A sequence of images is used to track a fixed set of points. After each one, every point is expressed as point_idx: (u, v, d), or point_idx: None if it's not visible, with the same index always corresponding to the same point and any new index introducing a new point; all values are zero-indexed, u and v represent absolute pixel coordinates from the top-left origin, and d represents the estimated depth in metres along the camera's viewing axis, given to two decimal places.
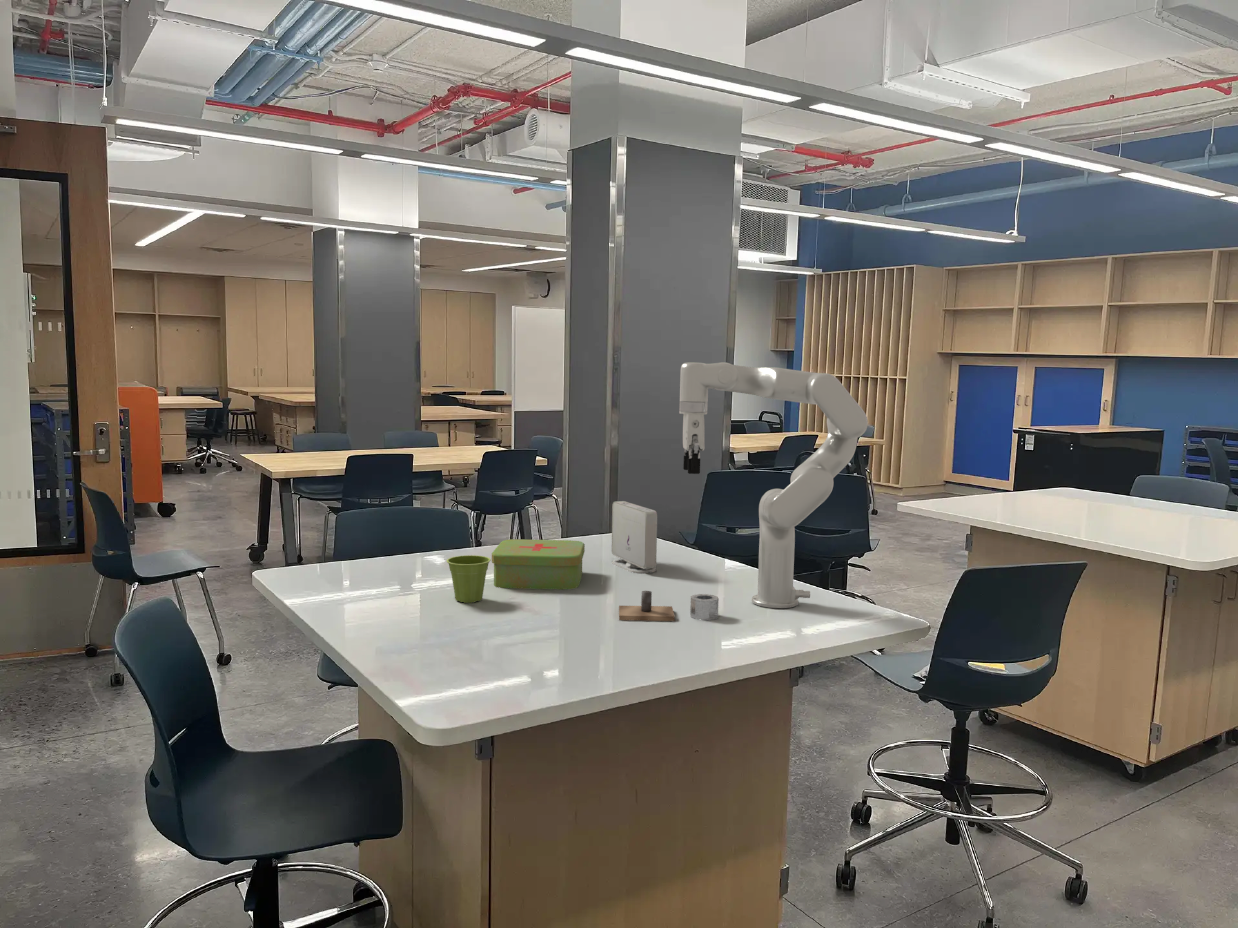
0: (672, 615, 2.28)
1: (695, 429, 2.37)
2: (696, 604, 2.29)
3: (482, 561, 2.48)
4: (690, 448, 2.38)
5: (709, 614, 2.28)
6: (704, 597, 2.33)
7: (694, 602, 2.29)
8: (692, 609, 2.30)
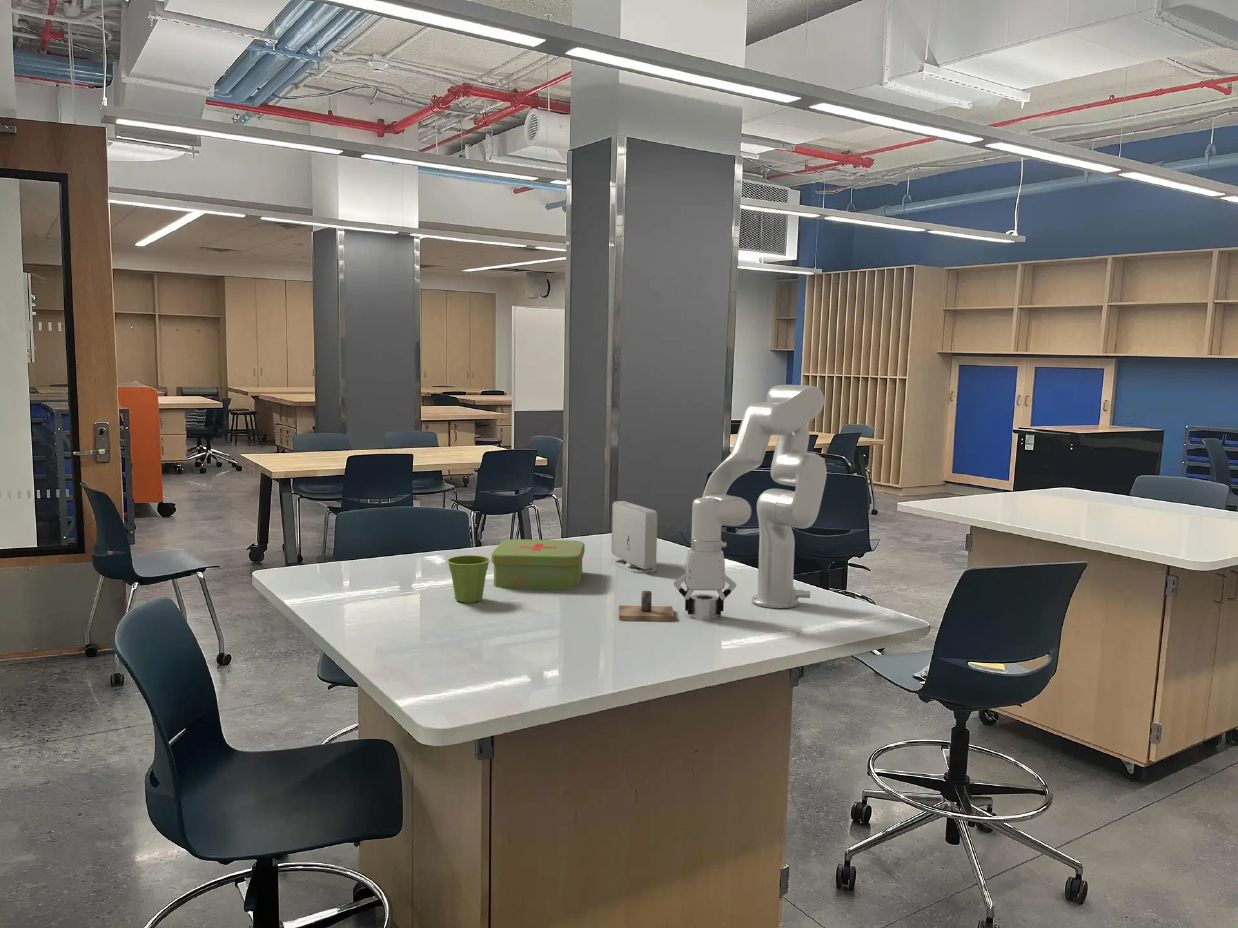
0: (672, 615, 2.28)
1: None
2: (696, 604, 2.29)
3: (482, 561, 2.48)
4: None
5: (709, 614, 2.28)
6: (704, 597, 2.33)
7: (694, 602, 2.29)
8: (692, 609, 2.30)
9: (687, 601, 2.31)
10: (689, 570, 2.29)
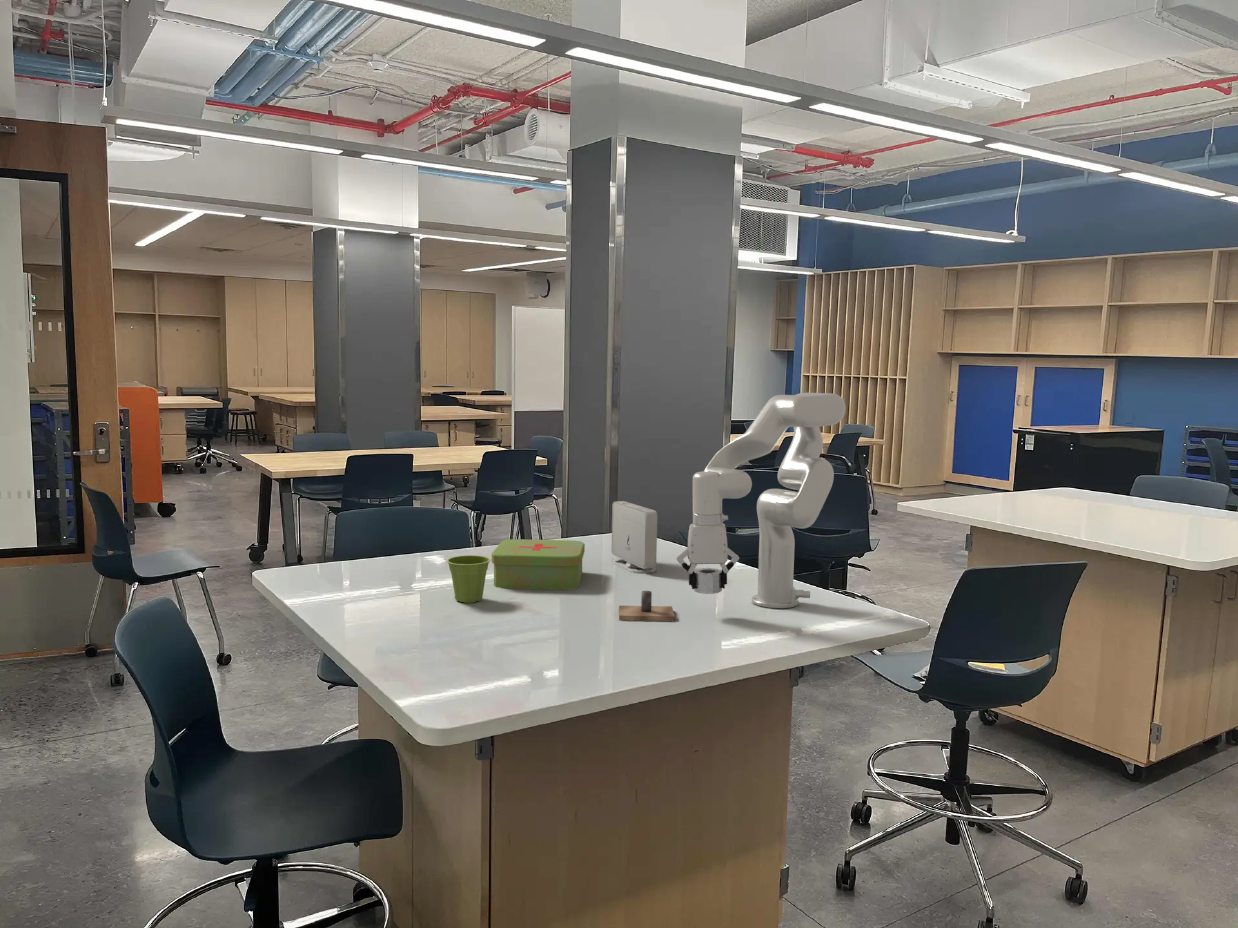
0: (672, 615, 2.28)
1: None
2: (699, 578, 2.29)
3: (482, 561, 2.48)
4: None
5: (713, 588, 2.28)
6: (707, 571, 2.33)
7: (697, 576, 2.29)
8: (696, 583, 2.30)
9: (691, 575, 2.31)
10: (691, 544, 2.28)
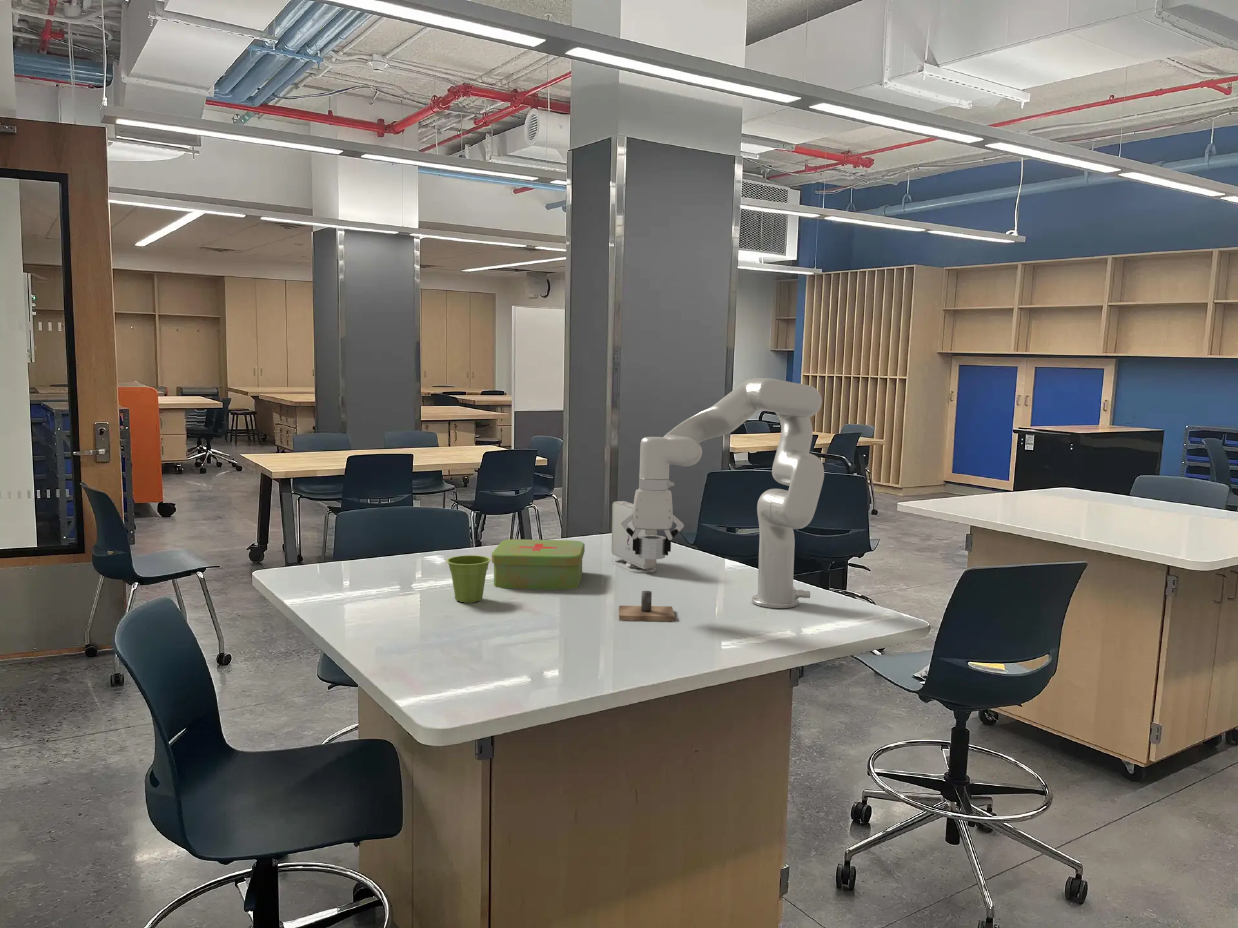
0: (672, 615, 2.28)
1: None
2: (643, 543, 2.27)
3: (482, 561, 2.48)
4: None
5: (656, 553, 2.27)
6: (652, 538, 2.32)
7: (641, 541, 2.28)
8: (639, 549, 2.28)
9: (634, 541, 2.29)
10: (636, 509, 2.27)
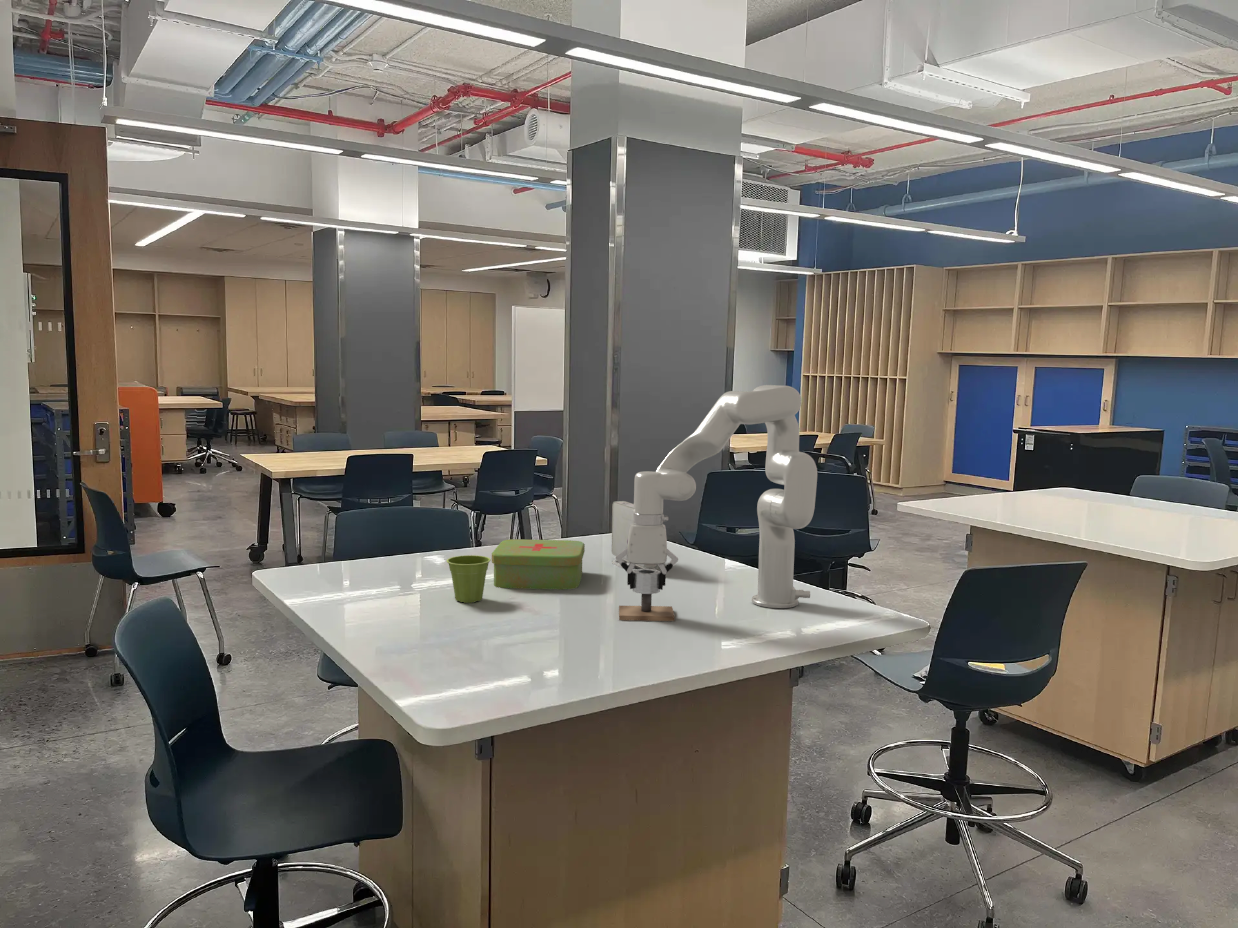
0: (672, 615, 2.28)
1: None
2: (637, 578, 2.28)
3: (482, 561, 2.48)
4: None
5: (650, 588, 2.28)
6: (647, 571, 2.33)
7: (635, 576, 2.28)
8: (634, 583, 2.29)
9: (629, 575, 2.30)
10: (630, 543, 2.28)
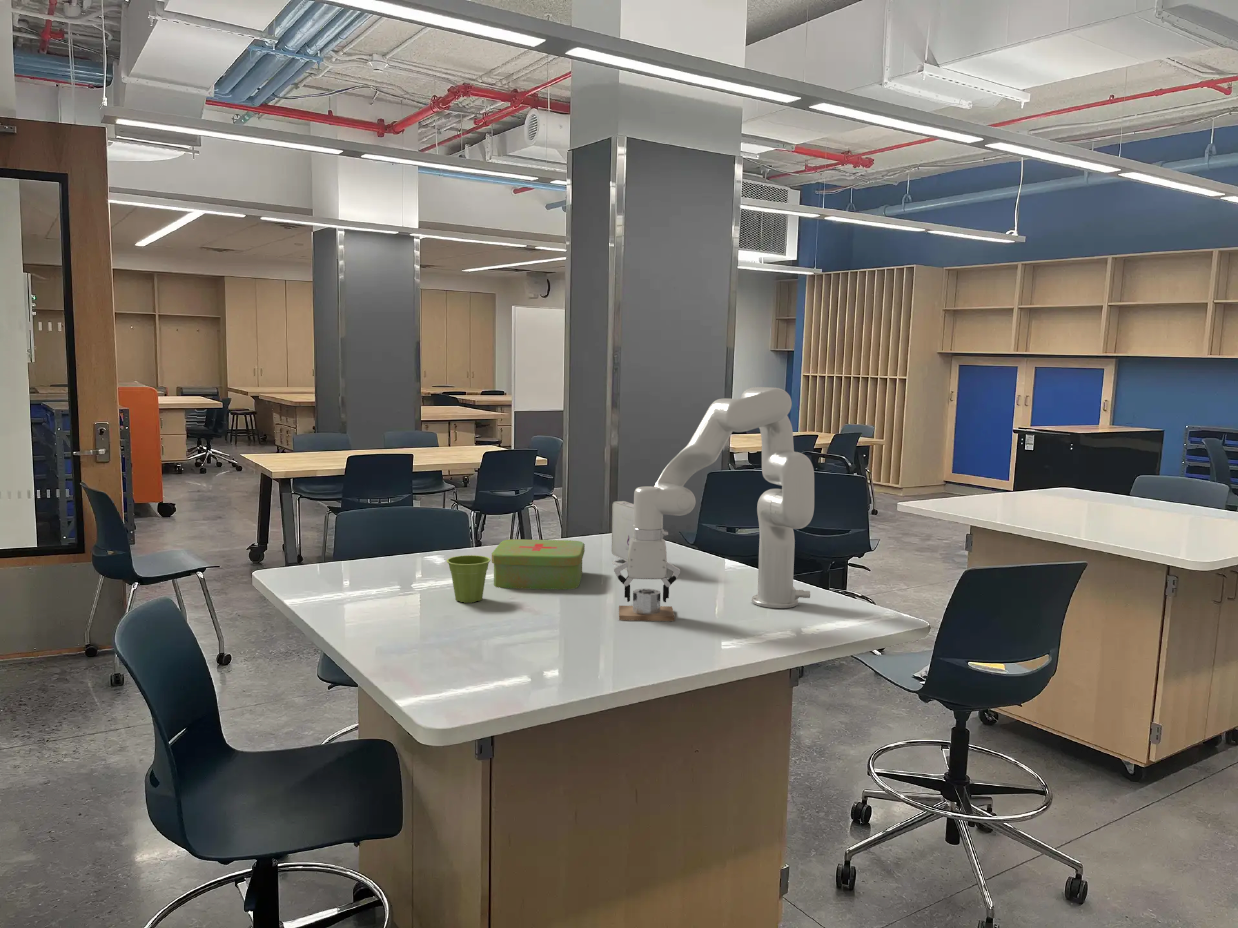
0: (672, 615, 2.28)
1: (666, 555, 2.30)
2: (638, 598, 2.29)
3: (482, 561, 2.48)
4: None
5: (650, 608, 2.28)
6: None
7: (636, 596, 2.29)
8: (634, 603, 2.30)
9: (626, 588, 2.30)
10: (630, 558, 2.28)
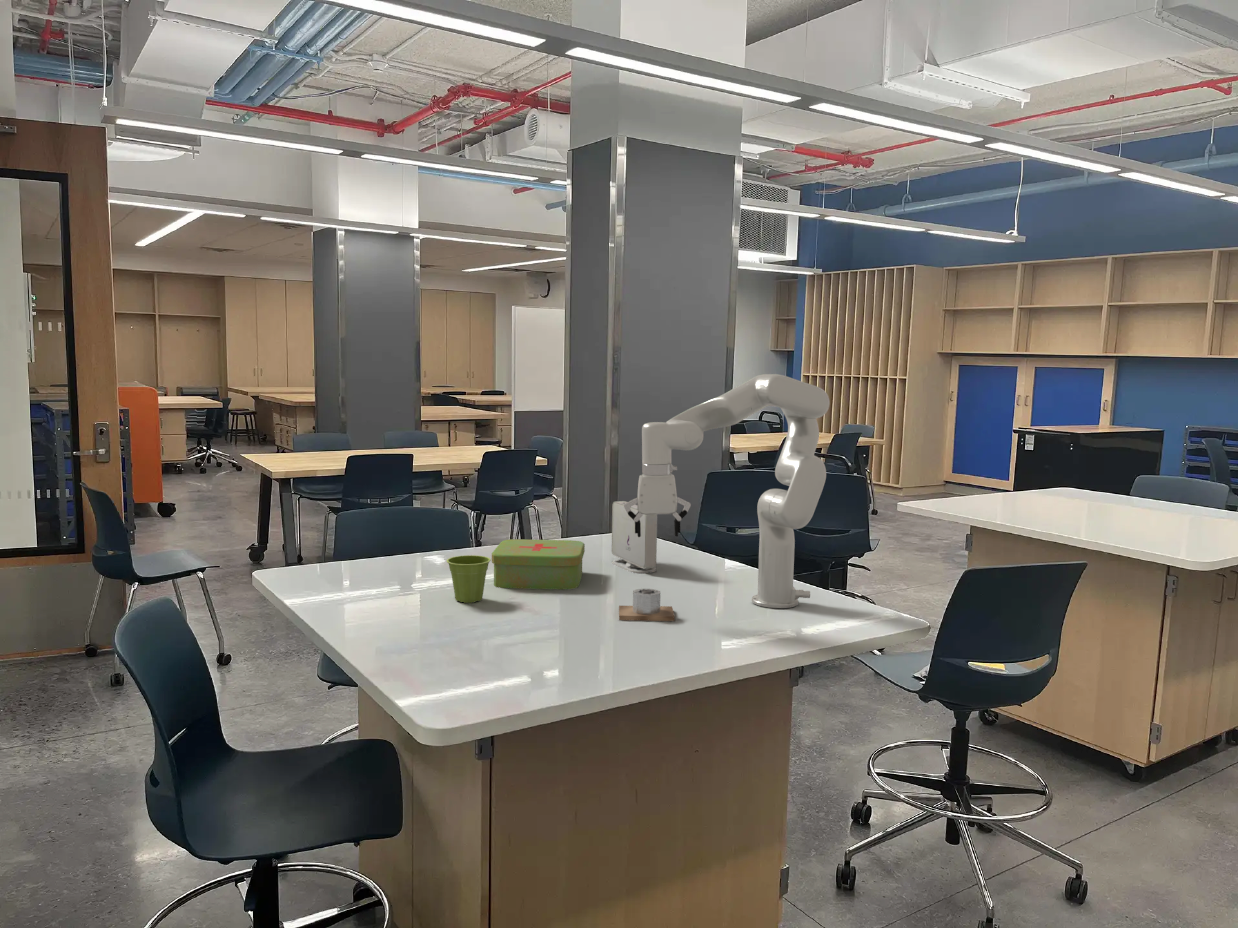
0: (672, 615, 2.28)
1: None
2: (638, 598, 2.29)
3: (482, 561, 2.48)
4: None
5: (650, 608, 2.28)
6: None
7: (636, 596, 2.29)
8: (634, 603, 2.30)
9: (636, 524, 2.31)
10: (640, 494, 2.29)
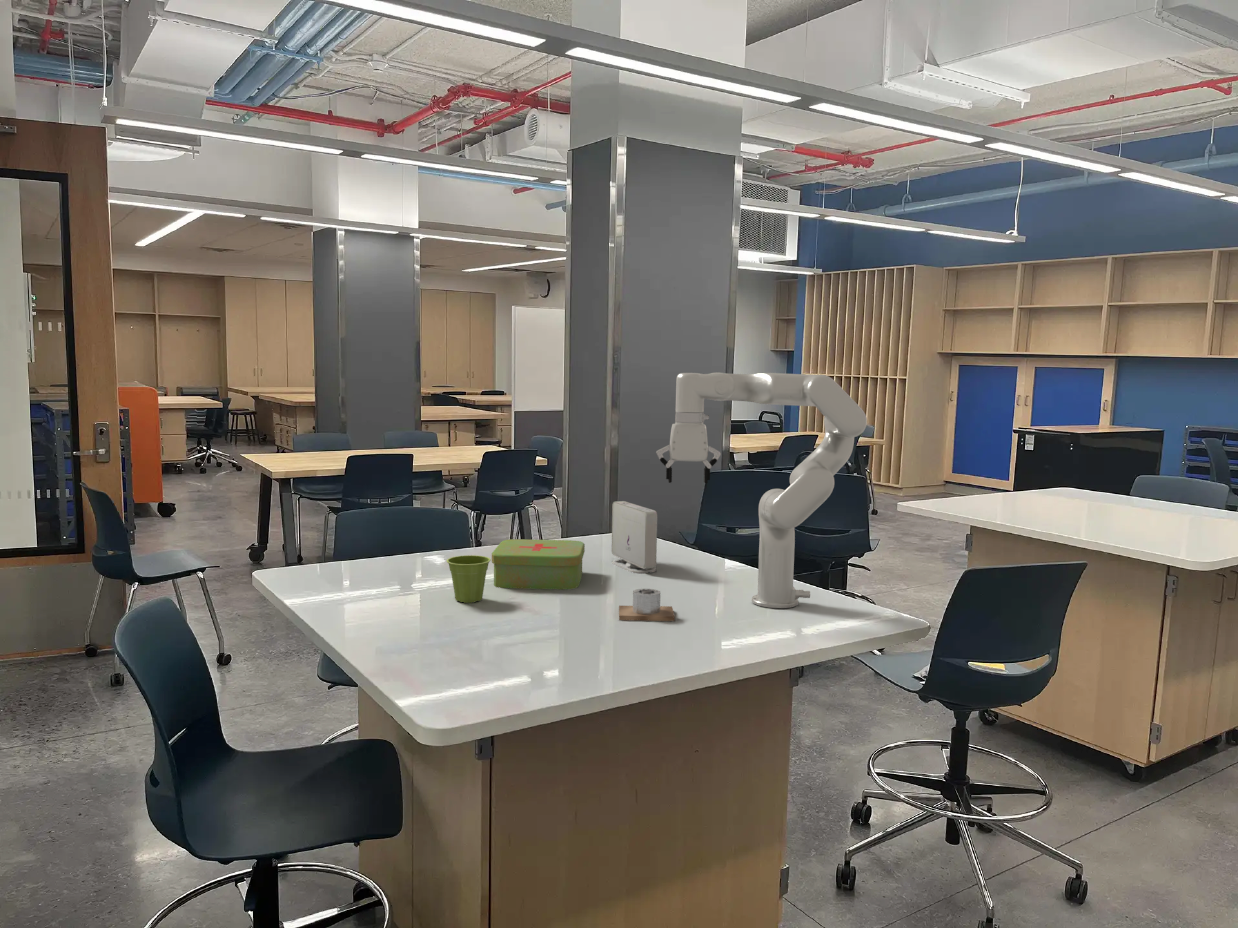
0: (672, 615, 2.28)
1: None
2: (638, 598, 2.29)
3: (482, 561, 2.48)
4: None
5: (650, 608, 2.28)
6: None
7: (636, 596, 2.29)
8: (634, 603, 2.30)
9: (668, 470, 2.40)
10: (673, 441, 2.39)
